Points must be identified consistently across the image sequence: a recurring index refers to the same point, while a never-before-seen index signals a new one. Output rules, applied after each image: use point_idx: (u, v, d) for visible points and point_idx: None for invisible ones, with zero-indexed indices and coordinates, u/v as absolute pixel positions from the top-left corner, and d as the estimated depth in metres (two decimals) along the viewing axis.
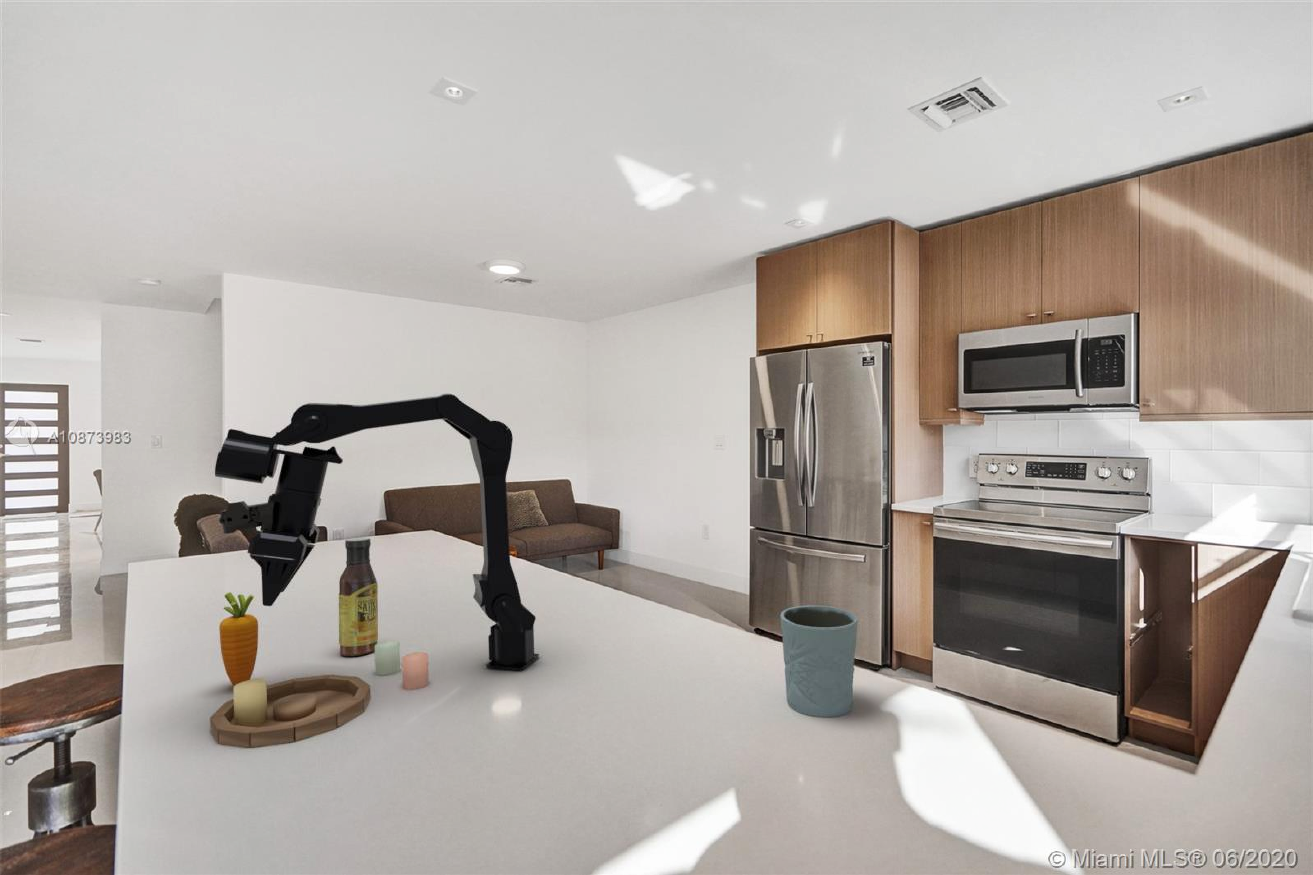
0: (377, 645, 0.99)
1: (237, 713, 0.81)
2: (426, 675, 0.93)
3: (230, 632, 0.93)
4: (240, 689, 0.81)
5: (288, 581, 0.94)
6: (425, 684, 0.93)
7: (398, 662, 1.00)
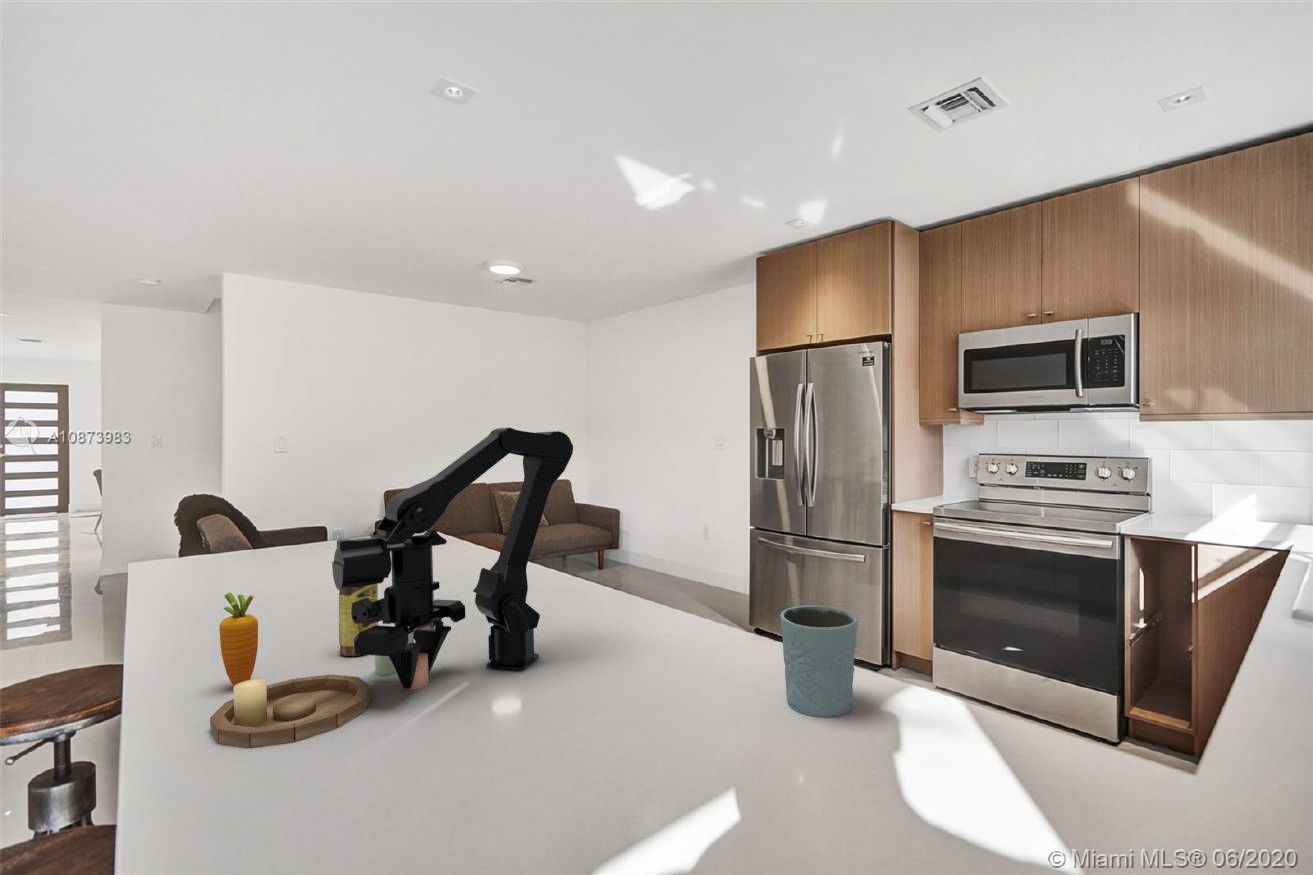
0: None
1: (237, 713, 0.81)
2: (426, 675, 0.93)
3: (230, 632, 0.93)
4: (240, 689, 0.81)
5: (428, 667, 0.95)
6: (425, 684, 0.93)
7: None
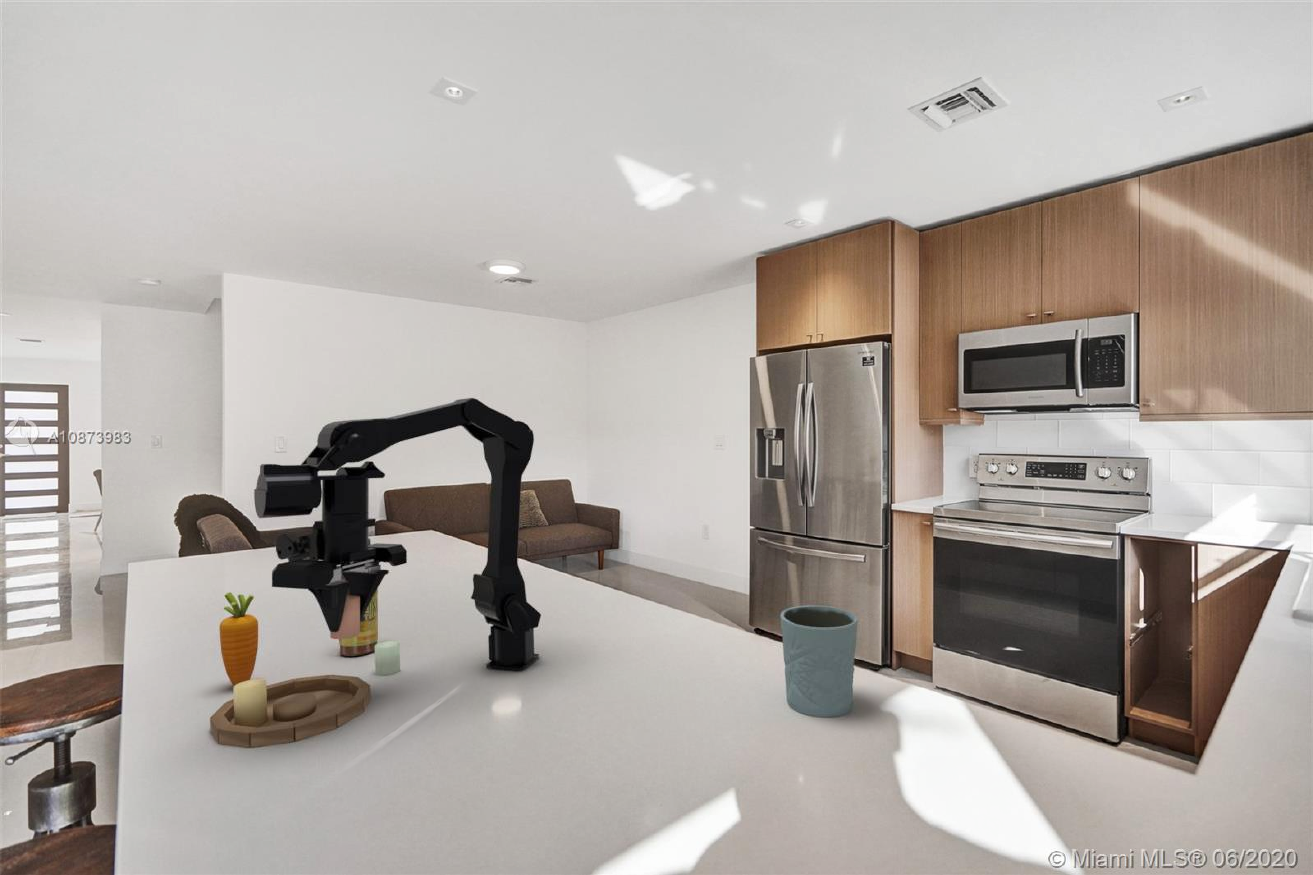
0: (377, 645, 0.99)
1: (237, 713, 0.81)
2: (356, 619, 0.86)
3: (230, 632, 0.93)
4: (240, 689, 0.81)
5: (360, 612, 0.88)
6: (355, 628, 0.85)
7: (398, 662, 1.00)
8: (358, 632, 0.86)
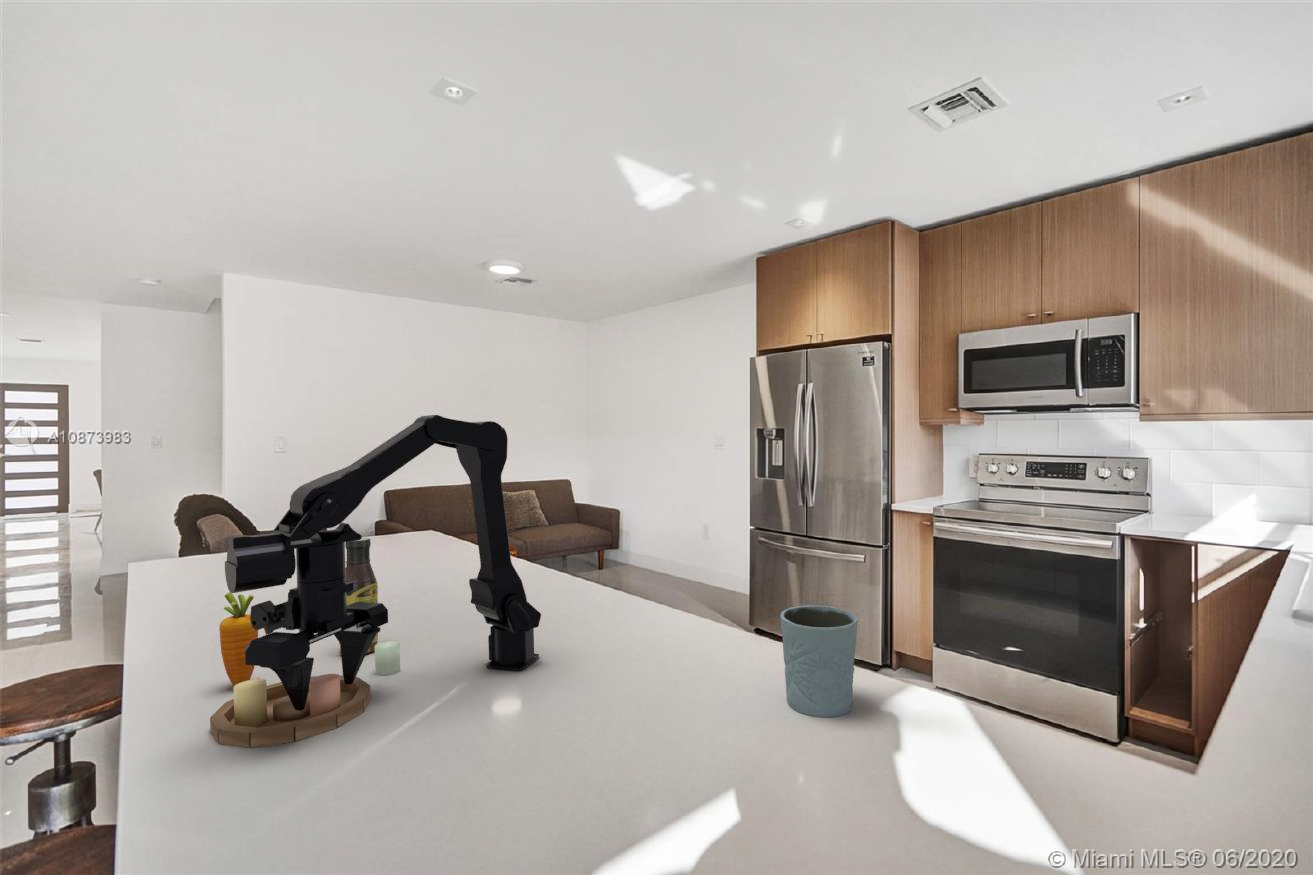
0: (377, 645, 0.99)
1: (237, 713, 0.81)
2: (336, 700, 0.83)
3: (230, 632, 0.93)
4: (240, 689, 0.81)
5: (353, 672, 0.87)
6: None
7: (398, 662, 1.00)
8: None
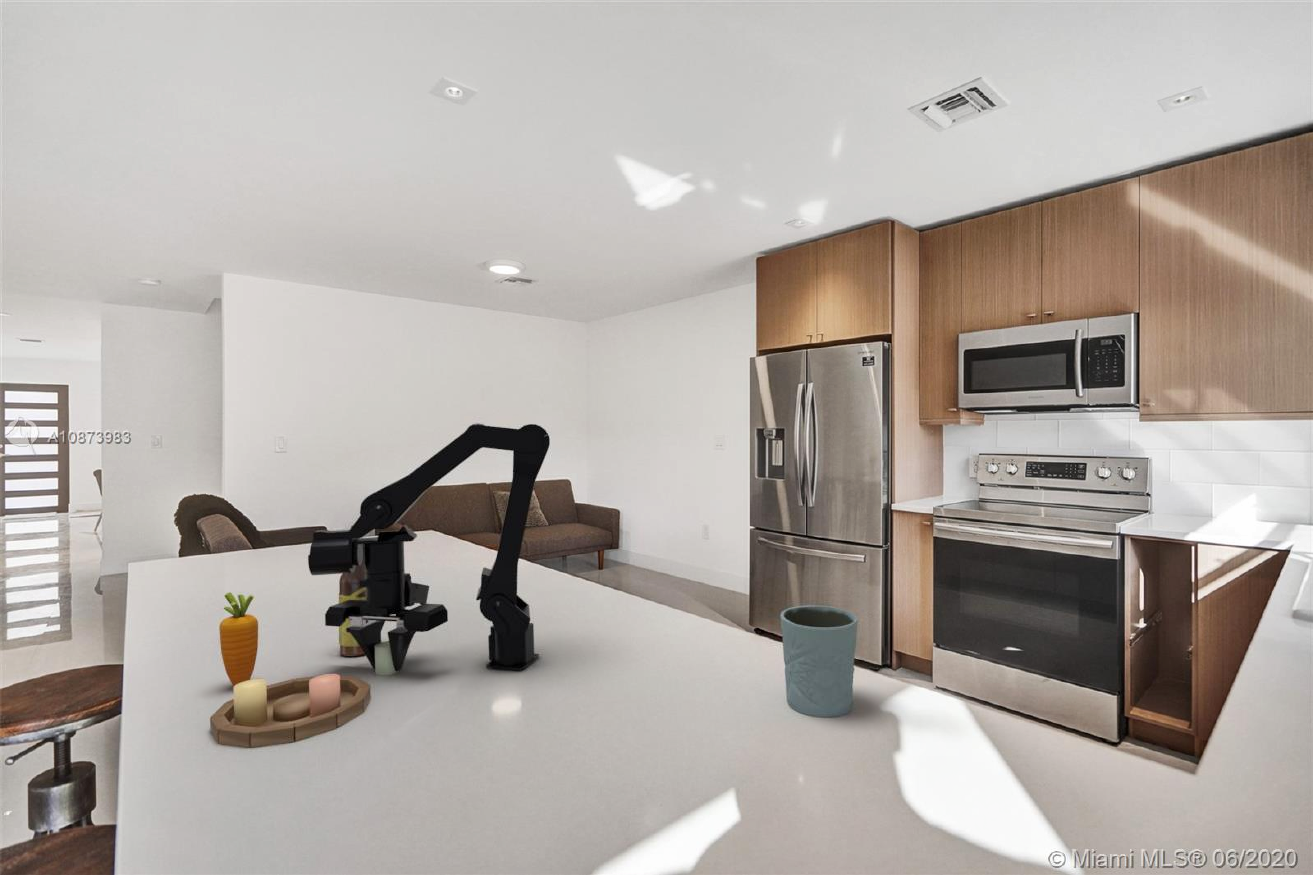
0: (377, 645, 0.99)
1: (237, 713, 0.81)
2: (336, 700, 0.83)
3: (230, 632, 0.93)
4: (240, 689, 0.81)
5: None
6: None
7: None
8: None
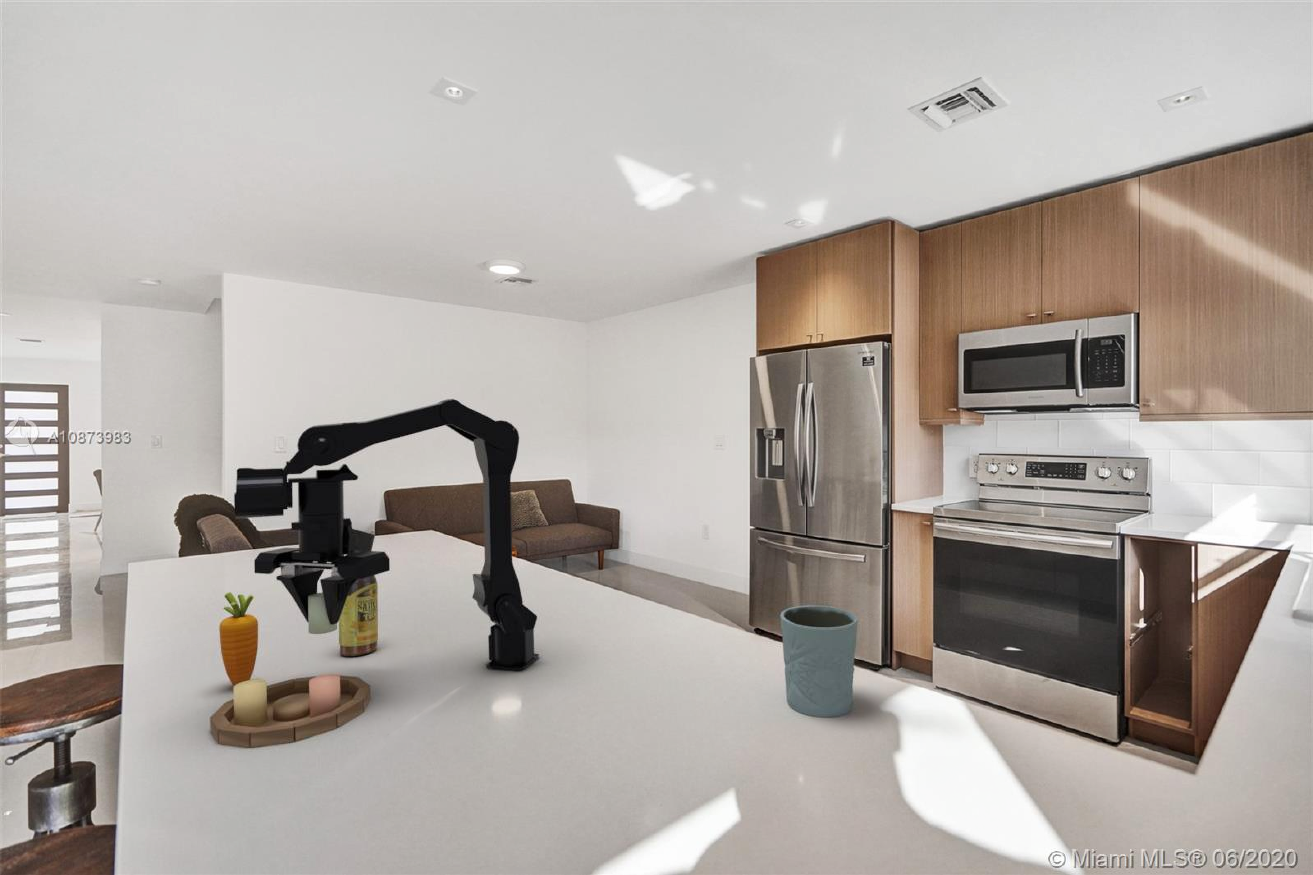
0: (311, 595, 0.90)
1: (237, 713, 0.81)
2: (336, 700, 0.83)
3: (230, 632, 0.93)
4: (240, 689, 0.81)
5: None
6: None
7: None
8: None
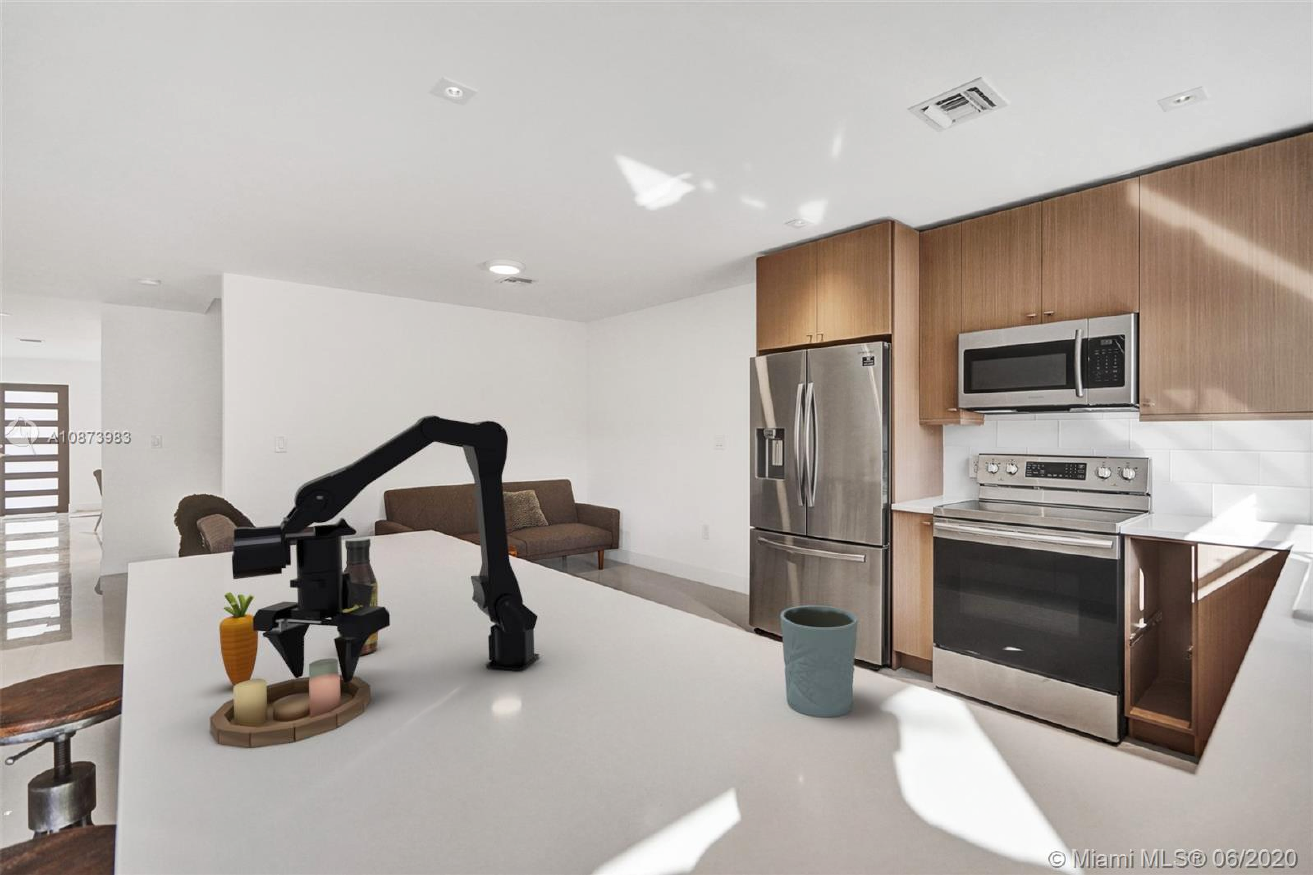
0: (312, 663, 0.89)
1: (237, 713, 0.81)
2: (336, 700, 0.83)
3: (230, 632, 0.93)
4: (240, 689, 0.81)
5: None
6: None
7: None
8: None
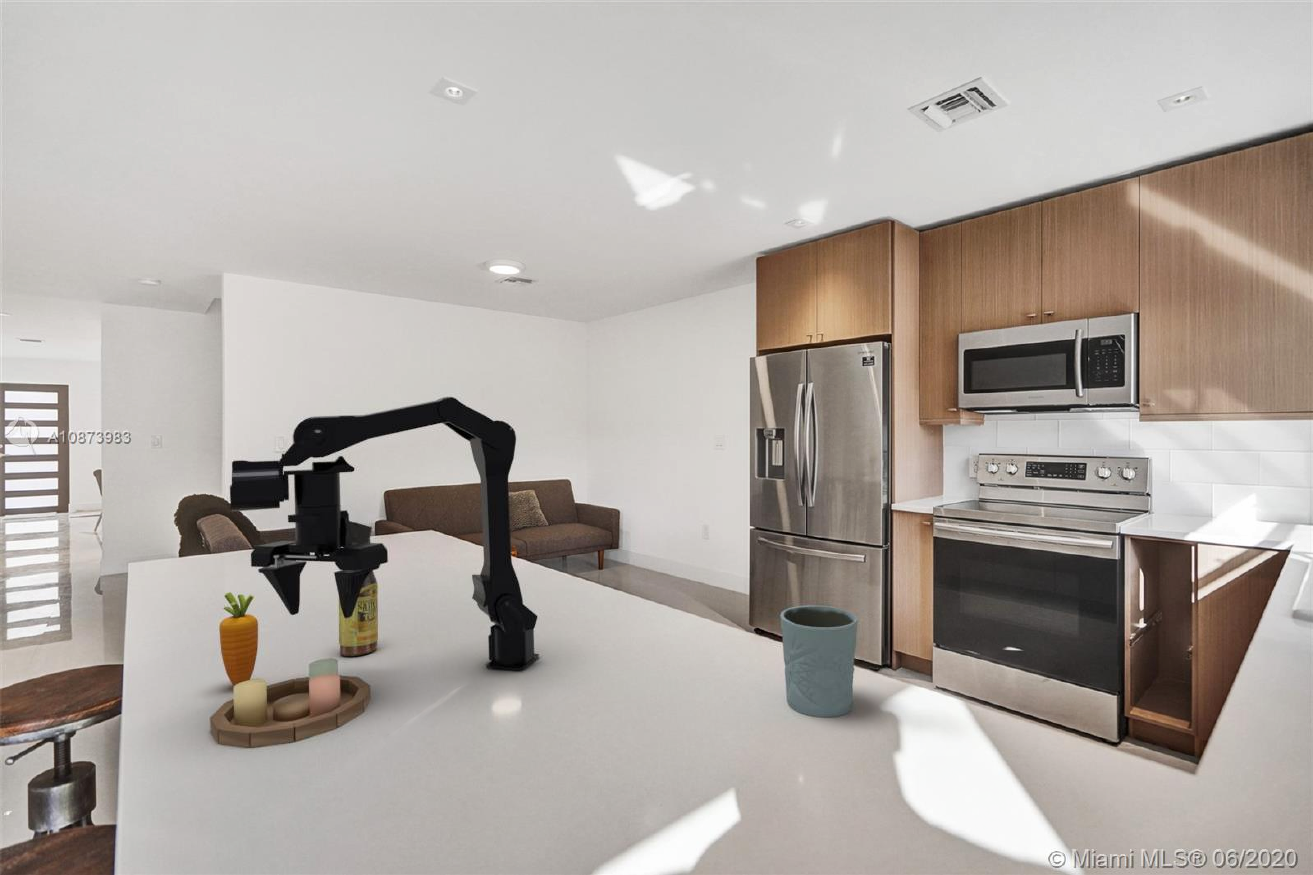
0: (312, 663, 0.89)
1: (237, 713, 0.81)
2: (336, 700, 0.83)
3: (230, 632, 0.93)
4: (240, 689, 0.81)
5: None
6: None
7: None
8: None
